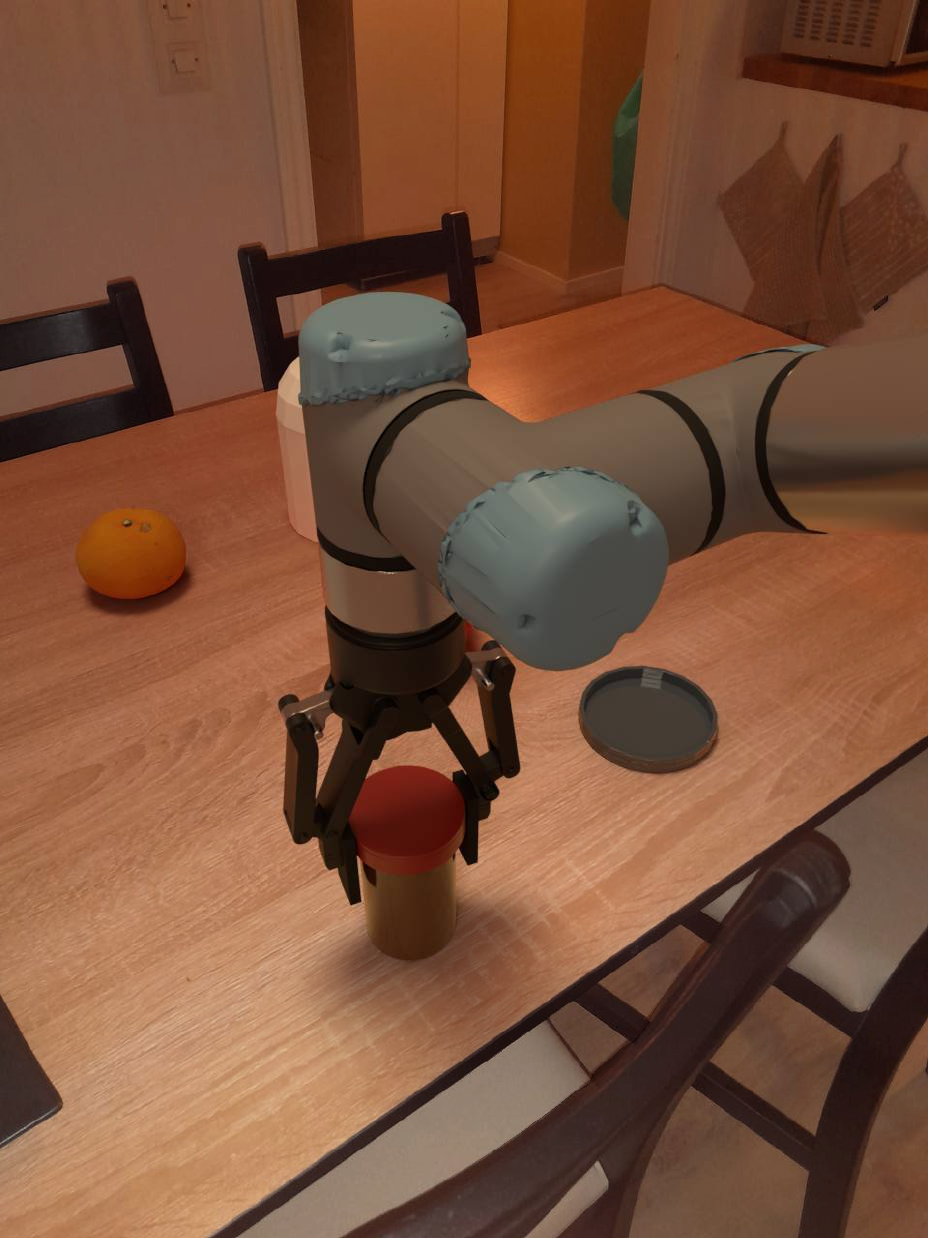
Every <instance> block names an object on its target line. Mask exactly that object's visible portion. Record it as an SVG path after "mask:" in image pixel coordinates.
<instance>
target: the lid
mask: <svg viewBox="0 0 928 1238" xmlns="http://www.w3.org/2000/svg"><path fill="white" fill-rule="evenodd" d="M348 822H349V824H350V827H351V829H352V831H353V834H354V836H355V842H356V852H357V858H359V860H360V859H361V860H362V861H363V862H364V863H365V864H367V865H368V866H370V867H372V868H374V869H376V870H378V871H381V872H384V873H388V874H393V875H415V874H420V873H424V872H427V871H430V870H433V869H435V868H437V867H439V866H441V865H442V864H444V863H445V862H446V861H448V860H449V859H450V858H451V857H452V856H453V855H454V854H455V853H456V854H457V852H458V850H459V847H460V845H461V843H462V841H463V838H464V834H465V803H464V799H463V796H462V794H461V792H460V791H459V789H458V787H457V786H456V785H455V783H453V782H452V779H450V778H449V777H448V776H447V775H445V774H443V773H441V772H439V771H437V770H435V769H432V768H429V767H425V766H421V765H412V764H411V765H405V764H404V765H395V766H391V767H387V768H384V769H380V770H378V771H377V772H376V771H375V772H374V773H372V774H371V775H369V776H366V778H365V781H364V783H363V786H362V788H361V790H360V793H359V795H358V798H357V800H356V802H355V805H354V807H353V810H352V812H351V815H350V817H349V819H348Z"/></svg>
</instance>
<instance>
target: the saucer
mask: <svg viewBox="0 0 928 1238" xmlns="http://www.w3.org/2000/svg"><path fill="white" fill-rule="evenodd" d="M577 714H578V723H579V728H580V731H581V734H582V735H583V738H584V739H585V740H586V742H587V743H588V744H589V746H590V747H591V748H592V749H593V750H594V751H595V752H596V753H597V754H599V755H601V757H603V758H604V759H606V760H608V761H610V762H612V763H613V764H616V765H618V766H620V767H624V768H626V769H629V770H633V771H638V772H643V773H657V774H659V773H668V772H675V771H679V770H683V769H686V768H688V767H691V766H692V765H694V764H696V763H698V762H699V761H700V760H702V759H703V758H704V757H705V756H706V755H707V754H708V753H709V751H710V750H711V748H712V746H713V743H714V741H715V740H716V737H717V731H718V722H719V721H718V719H719V714H718V712H717V709H716V707H715V704H714V702H713V700H712V698H711V697H710V696H709V695H708V694H707V693H706V691H704V690H703V689H702V687H701V686H700V685H699V684H697V683H695V682H693V680H690V679H689V678H687V677H686V676H684V675H682V674H679V673H676V672H674V671H671V670H668V669H666V668H660V667H654V666H649V665H632V666H631V665H630V666H621V667H617V668H613V669H611V670H607V671H604V672H603V673H601V674H600V675H598V676H597V677H595V678H594V679H591V681H590V682H589V683H588V684H587V686H586V687H585V688H584V690H583V691H582V693H581V697H580V701H579V706H578V713H577Z"/></svg>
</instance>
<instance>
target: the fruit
mask: <svg viewBox="0 0 928 1238" xmlns="http://www.w3.org/2000/svg"><path fill="white" fill-rule="evenodd" d="M186 560H187V547H186V541H185V538H184V536H183V533H182V532H181V530H180V529H179V527H178V526H177V525H176V523H174V521H173V520H171V518H169V516H167V515H165V514H164V513H163V512H159V511H157V510H154V509H150V508H149V509H148V508H137V507H120V508H115V509H112V510H109V511H106V512H103V513H102V514H100V515H99V516H98V517H96V518H95V519H94V520H93V521H92V522H91V523H90V524H89V525H88V526H87V527H86V528H85V529H84V531H82V533H81V535H80V537H79V539H78V541H77V544H76V549H75V562H76V565H77V569H78V572H79V574H80V576H81V578H82V579H83V581H84V582H85V583H86V584H87V585H88V586H89V587H90V588H91V589H92V590H94V591H95V592H97V593H99V594H101V595H103V596H107V597H109V598H114V599H120V600H136V599H144V598H147V597H150V596H154V595H155V596H156V595H157V594H159V593H161V592H163V591H165V590H167V589H169V588H170V587H171V586H173V585H174V584H175V583H176V582H177V581H178V580H179V579H180V578H181V576H182V574H183V572H184V569H185V565H186Z"/></svg>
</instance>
